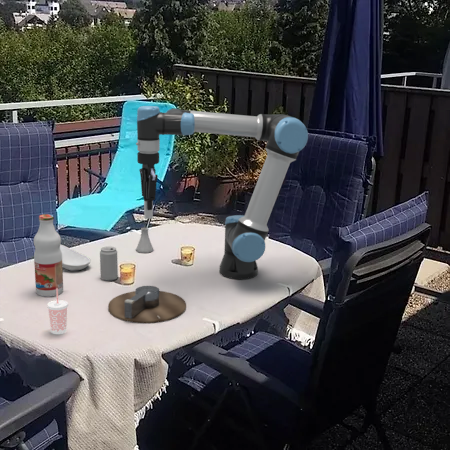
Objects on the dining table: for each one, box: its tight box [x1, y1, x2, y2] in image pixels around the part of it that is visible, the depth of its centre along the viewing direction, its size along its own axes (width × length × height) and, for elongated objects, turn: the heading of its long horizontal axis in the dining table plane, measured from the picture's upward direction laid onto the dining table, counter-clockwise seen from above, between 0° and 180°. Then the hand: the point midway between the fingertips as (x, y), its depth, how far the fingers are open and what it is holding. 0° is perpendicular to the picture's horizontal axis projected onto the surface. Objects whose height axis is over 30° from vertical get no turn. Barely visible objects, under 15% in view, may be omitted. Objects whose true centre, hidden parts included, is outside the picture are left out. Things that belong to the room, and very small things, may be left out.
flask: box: [135, 227, 154, 254], centre depth 271 cm, size 7×7×10 cm
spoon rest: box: [60, 244, 91, 272], centre depth 251 cm, size 24×12×7 cm, turn 50°
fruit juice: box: [33, 213, 64, 297], centre depth 220 cm, size 9×9×28 cm
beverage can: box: [99, 246, 119, 282], centre depth 236 cm, size 6×6×12 cm
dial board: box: [107, 290, 187, 324], centre depth 213 cm, size 26×26×1 cm
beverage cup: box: [46, 288, 69, 335], centre depth 192 cm, size 6×6×14 cm
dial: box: [125, 285, 160, 319], centre depth 208 cm, size 17×8×6 cm, turn 159°
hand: (148, 217), depth 223 cm, fingers closed
